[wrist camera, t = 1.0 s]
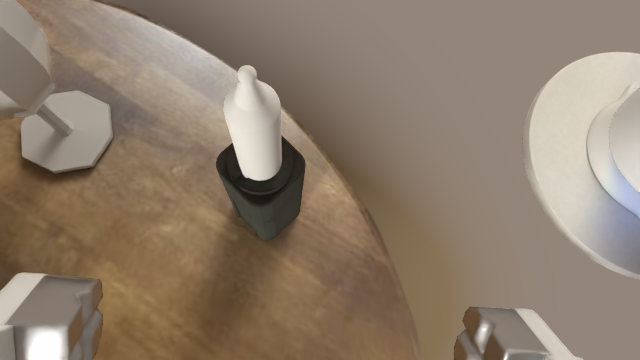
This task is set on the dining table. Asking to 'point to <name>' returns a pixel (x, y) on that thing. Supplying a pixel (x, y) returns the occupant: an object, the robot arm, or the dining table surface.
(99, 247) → the dining table surface
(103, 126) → the wineglass
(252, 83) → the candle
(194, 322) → the dining table surface
